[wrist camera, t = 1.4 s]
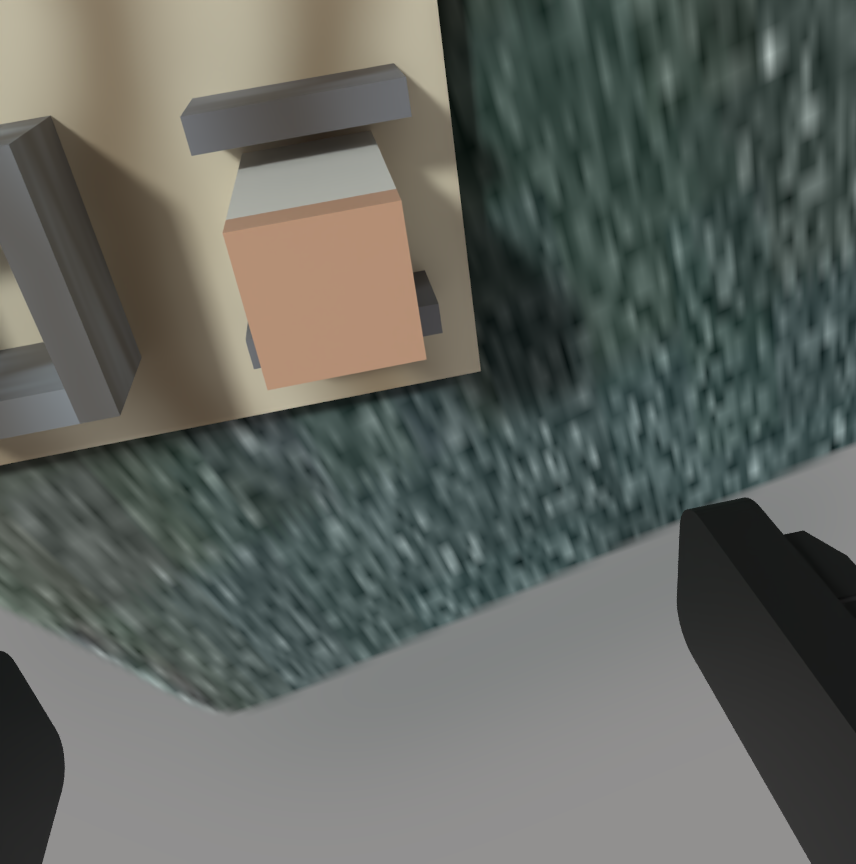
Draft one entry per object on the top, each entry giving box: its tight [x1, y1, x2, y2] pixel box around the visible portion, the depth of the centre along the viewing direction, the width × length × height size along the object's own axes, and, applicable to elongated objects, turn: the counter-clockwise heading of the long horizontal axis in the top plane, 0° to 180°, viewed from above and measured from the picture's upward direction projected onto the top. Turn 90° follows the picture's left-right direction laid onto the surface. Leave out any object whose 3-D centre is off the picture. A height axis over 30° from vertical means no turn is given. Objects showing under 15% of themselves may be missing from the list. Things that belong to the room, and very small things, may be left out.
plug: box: [223, 131, 427, 390], centre depth 22 cm, size 4×4×8 cm
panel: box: [0, 0, 481, 465], centre depth 24 cm, size 20×14×6 cm
